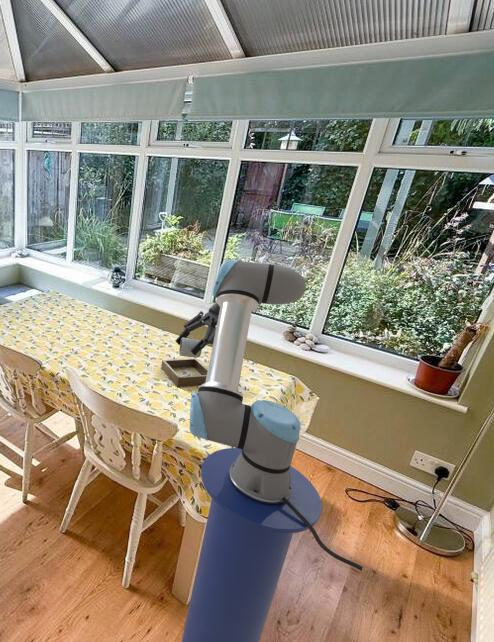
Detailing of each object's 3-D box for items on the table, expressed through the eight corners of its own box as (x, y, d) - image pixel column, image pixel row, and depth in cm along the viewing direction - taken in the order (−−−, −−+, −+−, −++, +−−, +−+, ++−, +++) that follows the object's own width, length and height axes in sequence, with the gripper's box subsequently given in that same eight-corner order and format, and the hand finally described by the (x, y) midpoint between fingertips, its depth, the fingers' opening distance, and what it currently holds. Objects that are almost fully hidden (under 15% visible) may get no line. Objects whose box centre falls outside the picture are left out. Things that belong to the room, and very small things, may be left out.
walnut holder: (213, 385, 169) (215, 375, 167) (176, 388, 166) (178, 377, 164) (194, 367, 184) (195, 358, 182) (160, 369, 181) (162, 360, 179)
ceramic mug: (200, 361, 167) (203, 344, 164) (179, 358, 168) (182, 342, 165) (197, 349, 176) (200, 333, 173) (177, 347, 178) (180, 331, 175)
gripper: (246, 323, 160) (207, 364, 161) (208, 305, 180) (173, 342, 180) (238, 311, 157) (197, 354, 157) (200, 294, 176) (164, 332, 177)
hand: (184, 347), depth 169 cm, fingers closed on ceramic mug, 10 cm apart
